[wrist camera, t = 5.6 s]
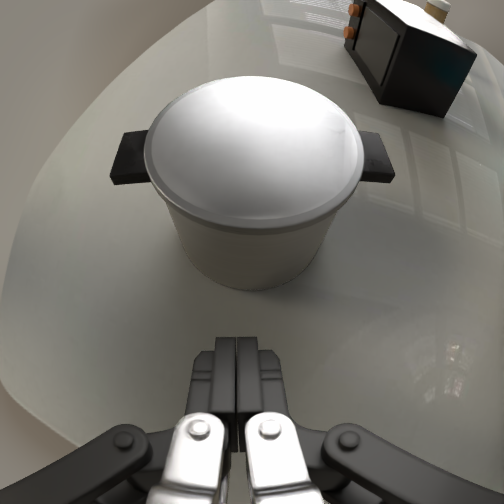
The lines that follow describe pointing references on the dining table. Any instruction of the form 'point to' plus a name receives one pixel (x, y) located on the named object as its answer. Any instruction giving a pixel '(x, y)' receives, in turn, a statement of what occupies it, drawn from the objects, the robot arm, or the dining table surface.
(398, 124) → the dining table surface
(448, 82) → the toaster oven
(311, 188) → the pot
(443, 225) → the dining table surface
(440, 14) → the sprinkles bottle
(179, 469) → the robot arm
